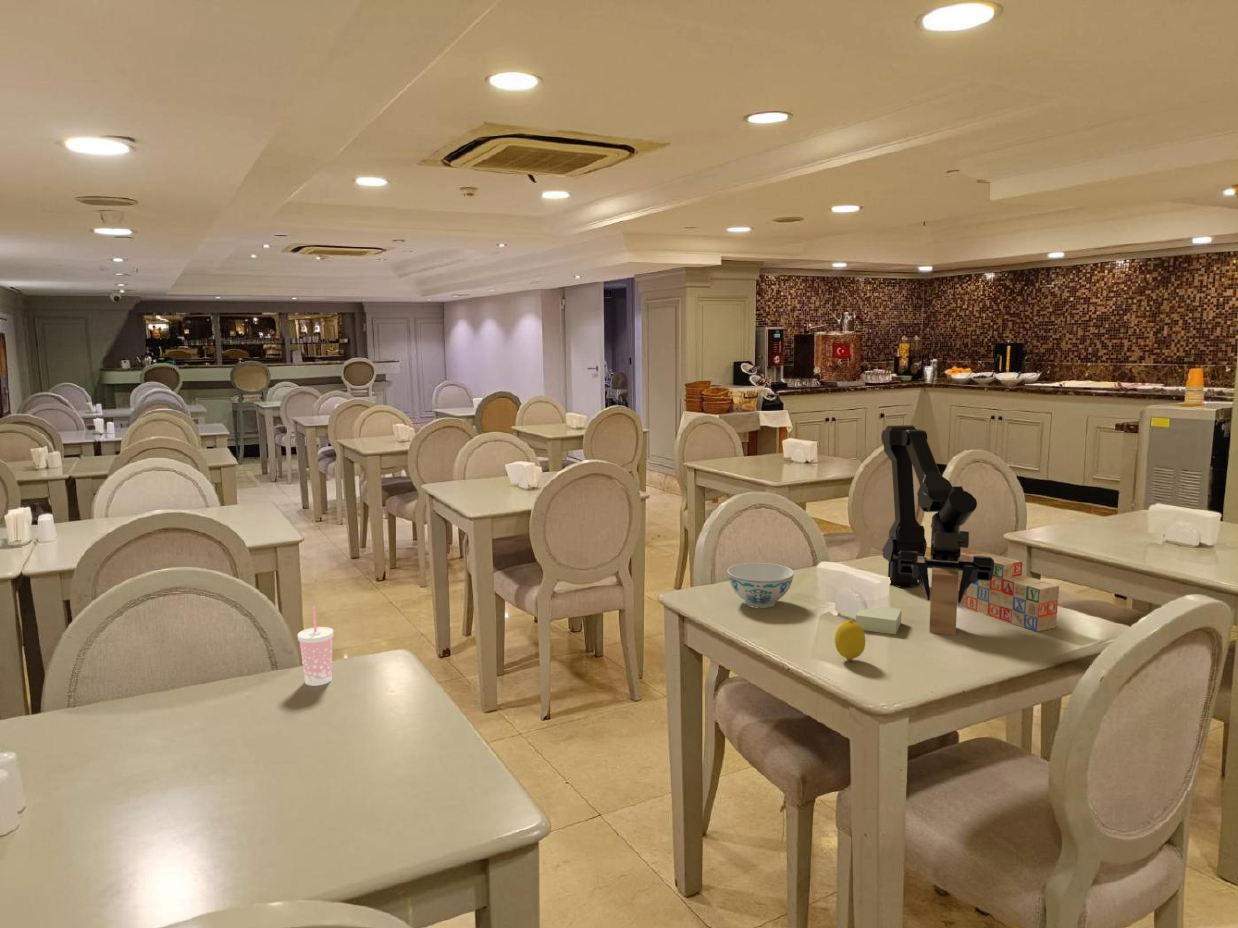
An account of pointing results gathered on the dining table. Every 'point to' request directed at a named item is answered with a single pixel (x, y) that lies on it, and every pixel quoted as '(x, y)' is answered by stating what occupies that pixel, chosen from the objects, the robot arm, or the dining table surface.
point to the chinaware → (760, 582)
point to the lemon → (850, 640)
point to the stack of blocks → (1011, 594)
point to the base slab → (880, 619)
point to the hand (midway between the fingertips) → (943, 600)
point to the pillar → (944, 600)
